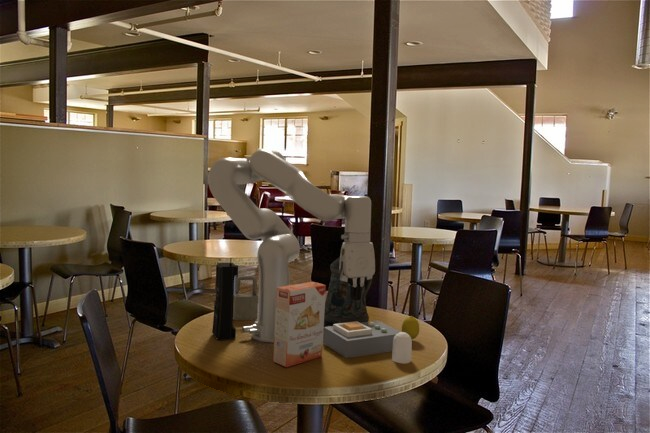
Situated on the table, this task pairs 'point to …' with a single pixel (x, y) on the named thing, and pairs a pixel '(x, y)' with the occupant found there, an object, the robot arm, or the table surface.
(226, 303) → the black rectangular column
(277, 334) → the cracker box
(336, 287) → the beer stein
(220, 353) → the table surface
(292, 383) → the table surface
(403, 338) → the white domed cylinder
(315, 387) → the table surface
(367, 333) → the grey button console
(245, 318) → the padlock
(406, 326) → the lemon
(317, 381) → the table surface
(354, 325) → the breaker button
